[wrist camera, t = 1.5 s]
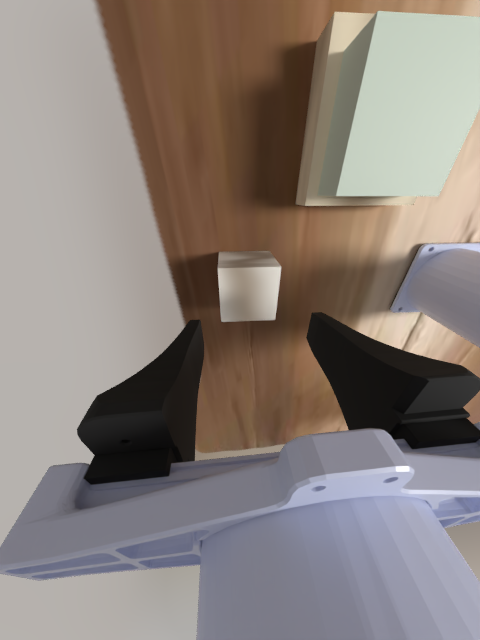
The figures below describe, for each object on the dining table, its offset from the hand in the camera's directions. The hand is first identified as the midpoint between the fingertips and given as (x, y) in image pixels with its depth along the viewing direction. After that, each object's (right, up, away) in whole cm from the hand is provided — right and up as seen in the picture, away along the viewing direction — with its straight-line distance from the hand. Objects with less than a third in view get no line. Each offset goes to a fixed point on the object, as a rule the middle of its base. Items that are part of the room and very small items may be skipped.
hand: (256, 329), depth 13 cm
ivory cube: (-1, +5, +8) cm, 10 cm away
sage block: (+8, +13, +1) cm, 16 cm away
